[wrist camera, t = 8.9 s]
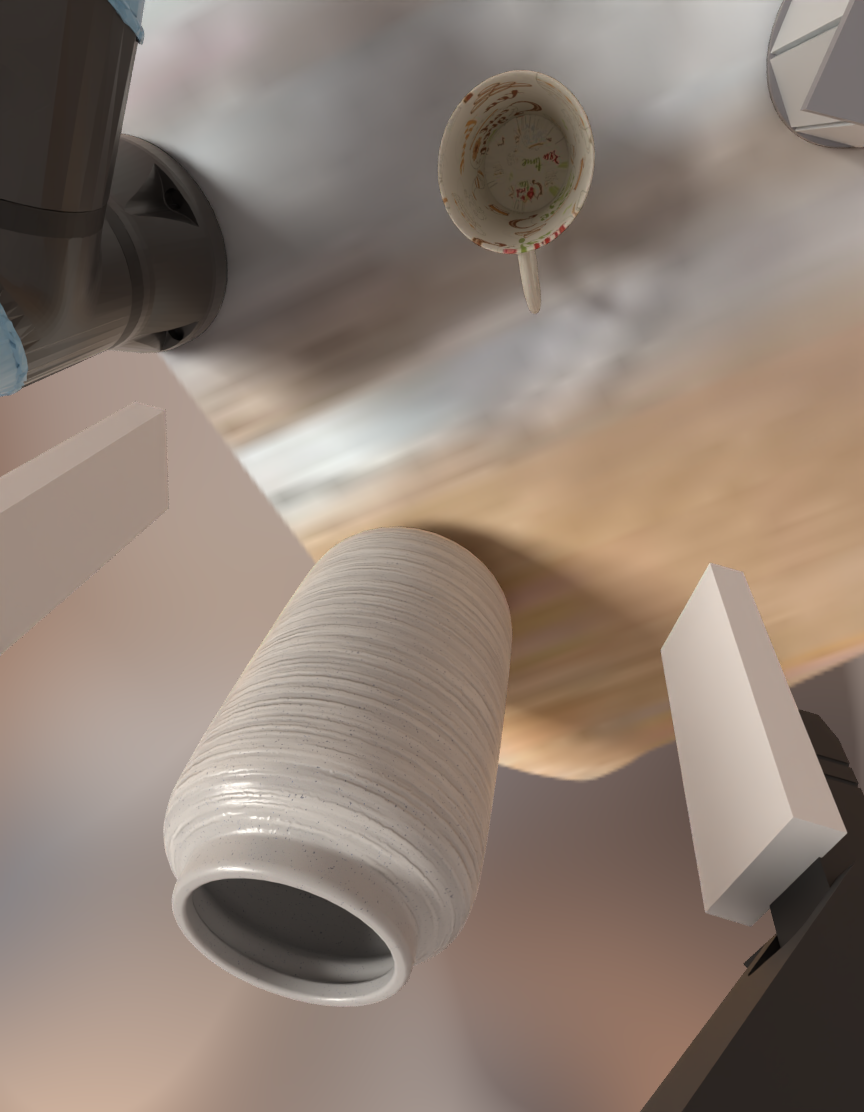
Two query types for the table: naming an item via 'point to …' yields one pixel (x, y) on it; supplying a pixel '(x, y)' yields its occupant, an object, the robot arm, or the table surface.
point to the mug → (516, 166)
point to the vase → (349, 775)
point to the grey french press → (819, 70)
